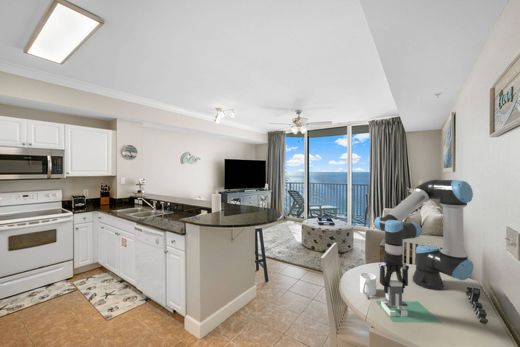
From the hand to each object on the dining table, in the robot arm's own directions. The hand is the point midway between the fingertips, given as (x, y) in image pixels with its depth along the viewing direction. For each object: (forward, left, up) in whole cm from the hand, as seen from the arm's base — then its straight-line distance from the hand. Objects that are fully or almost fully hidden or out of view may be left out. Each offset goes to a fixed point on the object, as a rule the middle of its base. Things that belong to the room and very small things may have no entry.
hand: (393, 299), depth 109 cm
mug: (+6, -16, -7) cm, 19 cm away
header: (0, 0, -6) cm, 6 cm away
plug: (0, 0, -2) cm, 2 cm away
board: (-6, 0, -7) cm, 9 cm away
